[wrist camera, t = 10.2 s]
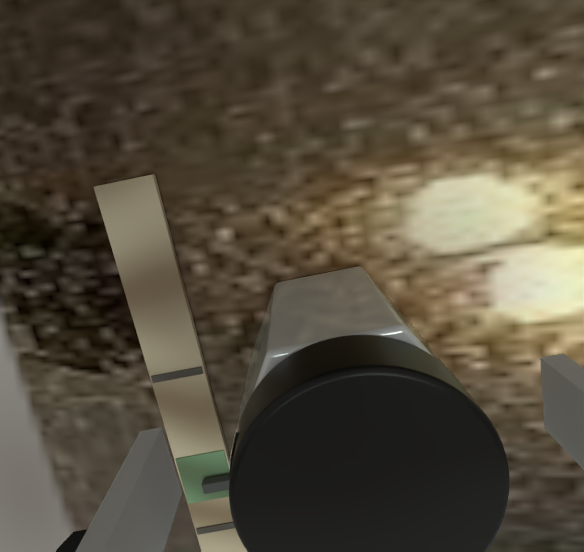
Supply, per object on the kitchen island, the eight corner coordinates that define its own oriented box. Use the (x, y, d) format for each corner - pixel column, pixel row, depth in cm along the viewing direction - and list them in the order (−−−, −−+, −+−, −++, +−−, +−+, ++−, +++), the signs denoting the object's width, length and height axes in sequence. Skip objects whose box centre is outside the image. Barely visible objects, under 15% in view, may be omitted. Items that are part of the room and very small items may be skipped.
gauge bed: (96, 186, 22) (92, 186, 22) (155, 174, 22) (151, 174, 22) (210, 572, 28) (209, 579, 27) (257, 564, 28) (257, 571, 27)
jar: (219, 331, 24) (155, 481, 13) (334, 231, 23) (381, 294, 11) (327, 441, 26) (358, 664, 14) (439, 353, 25) (576, 518, 13)
